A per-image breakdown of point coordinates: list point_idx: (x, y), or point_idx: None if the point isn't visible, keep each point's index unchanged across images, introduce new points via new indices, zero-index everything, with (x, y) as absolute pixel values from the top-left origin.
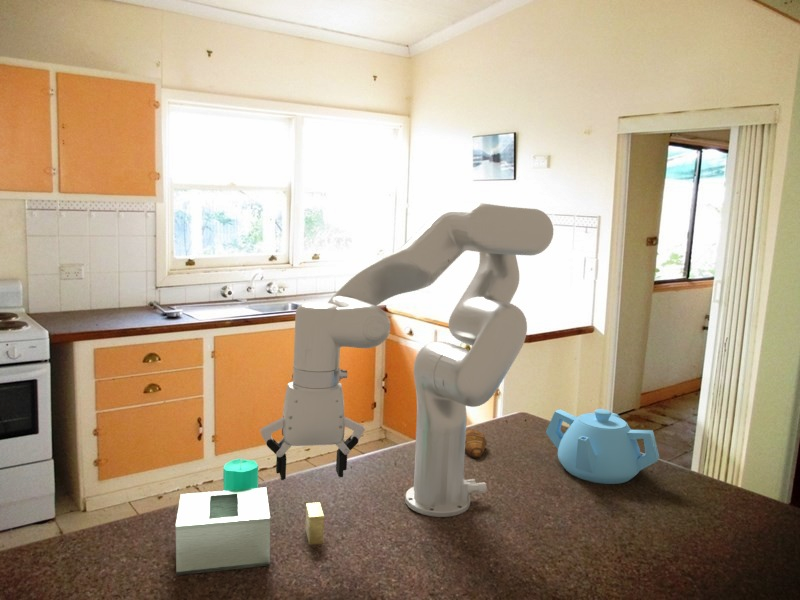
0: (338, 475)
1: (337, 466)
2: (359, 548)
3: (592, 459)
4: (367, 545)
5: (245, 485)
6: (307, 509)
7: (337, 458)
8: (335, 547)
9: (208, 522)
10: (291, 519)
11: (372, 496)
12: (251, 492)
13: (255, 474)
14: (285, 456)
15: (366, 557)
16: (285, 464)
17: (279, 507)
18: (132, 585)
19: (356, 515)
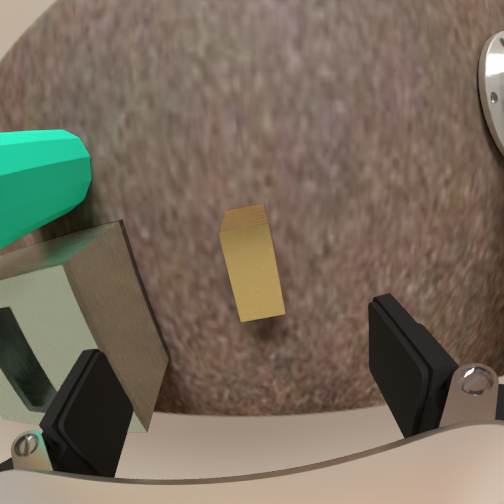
0: (370, 366)
1: (382, 352)
2: (360, 295)
3: None
4: (379, 282)
5: (4, 244)
6: (228, 272)
7: (399, 368)
8: (306, 293)
9: (36, 421)
10: (177, 153)
11: (405, 31)
12: (37, 301)
13: (1, 220)
14: (99, 475)
15: (368, 325)
16: (116, 461)
17: (135, 86)
18: None
19: (366, 131)
